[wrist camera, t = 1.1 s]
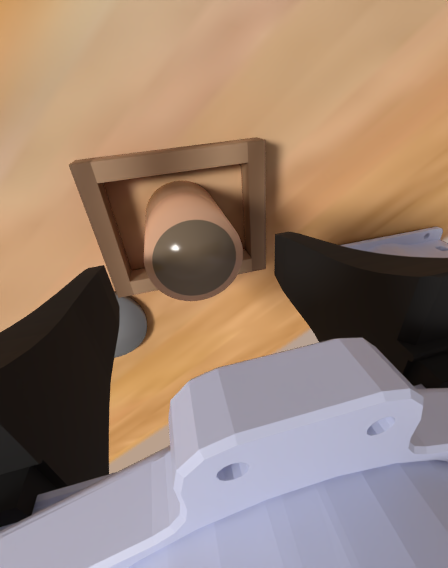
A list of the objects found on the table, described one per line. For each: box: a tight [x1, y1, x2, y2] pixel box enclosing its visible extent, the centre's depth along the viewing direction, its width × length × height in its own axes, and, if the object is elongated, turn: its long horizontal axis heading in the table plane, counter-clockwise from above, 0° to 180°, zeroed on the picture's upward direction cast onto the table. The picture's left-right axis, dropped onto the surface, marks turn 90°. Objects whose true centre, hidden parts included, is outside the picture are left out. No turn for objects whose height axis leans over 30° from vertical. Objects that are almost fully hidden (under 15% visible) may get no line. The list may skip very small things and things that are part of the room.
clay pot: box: [144, 181, 243, 301], centre depth 15 cm, size 4×4×6 cm
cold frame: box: [69, 138, 266, 298], centre depth 17 cm, size 10×8×2 cm
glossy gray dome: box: [114, 292, 147, 358], centre depth 20 cm, size 6×6×1 cm
